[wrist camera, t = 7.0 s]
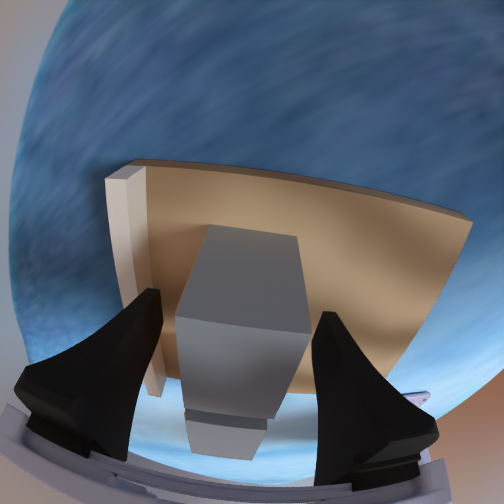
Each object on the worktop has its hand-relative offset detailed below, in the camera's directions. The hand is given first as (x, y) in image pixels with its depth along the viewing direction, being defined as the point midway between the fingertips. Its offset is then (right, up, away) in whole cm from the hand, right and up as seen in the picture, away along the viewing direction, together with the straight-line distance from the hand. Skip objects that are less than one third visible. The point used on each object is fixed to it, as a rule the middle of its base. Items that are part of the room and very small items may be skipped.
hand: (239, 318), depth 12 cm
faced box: (-1, -5, +6) cm, 8 cm away
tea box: (0, +1, +2) cm, 3 cm away
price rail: (-6, 0, +4) cm, 7 cm away
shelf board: (+3, -1, +5) cm, 6 cm away
